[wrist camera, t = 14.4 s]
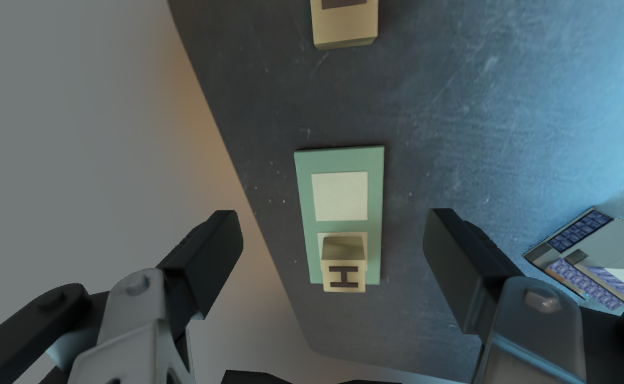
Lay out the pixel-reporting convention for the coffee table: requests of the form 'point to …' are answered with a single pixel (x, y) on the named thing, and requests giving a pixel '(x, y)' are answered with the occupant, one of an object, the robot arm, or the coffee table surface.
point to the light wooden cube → (343, 264)
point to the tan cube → (344, 23)
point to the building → (586, 257)
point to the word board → (342, 202)
